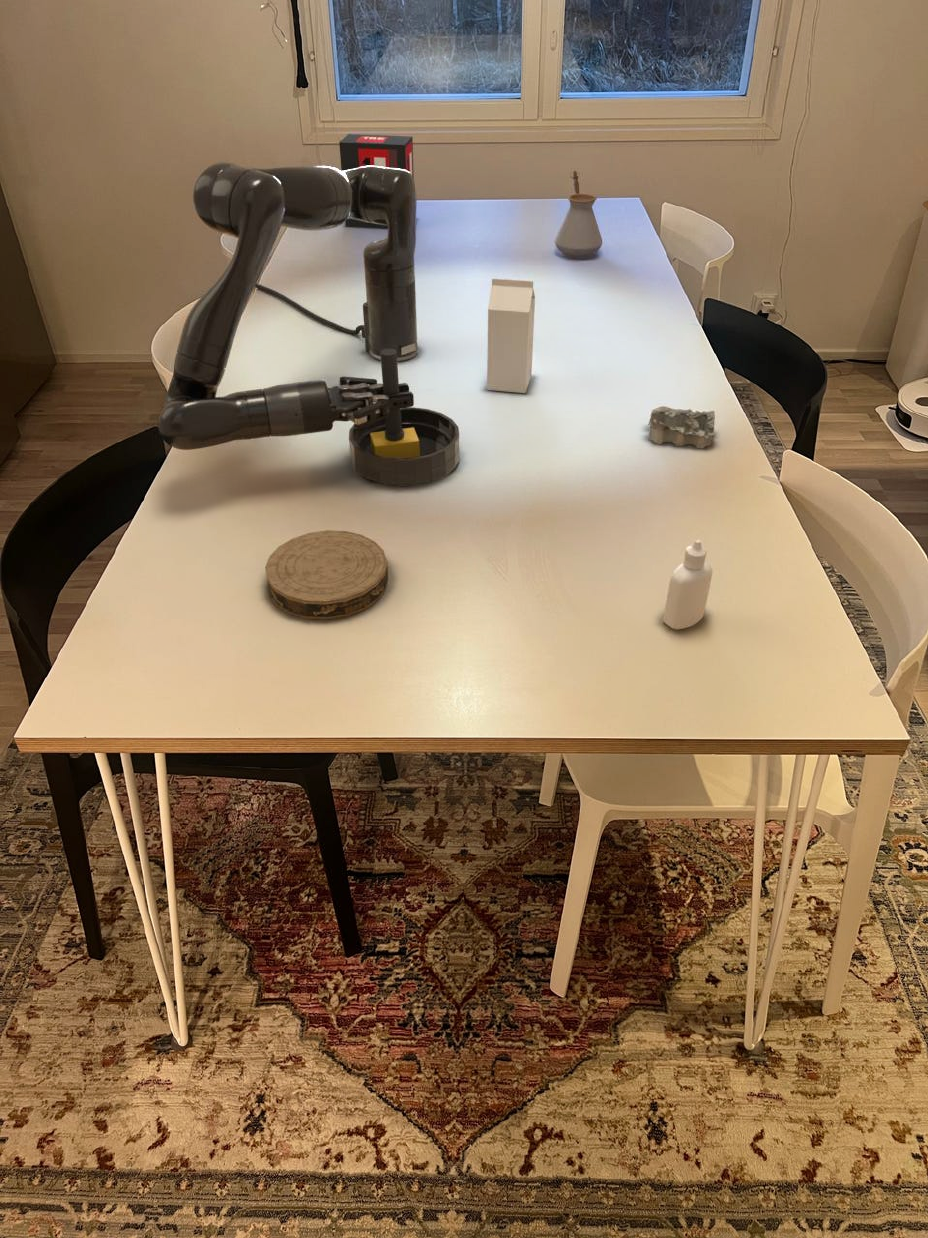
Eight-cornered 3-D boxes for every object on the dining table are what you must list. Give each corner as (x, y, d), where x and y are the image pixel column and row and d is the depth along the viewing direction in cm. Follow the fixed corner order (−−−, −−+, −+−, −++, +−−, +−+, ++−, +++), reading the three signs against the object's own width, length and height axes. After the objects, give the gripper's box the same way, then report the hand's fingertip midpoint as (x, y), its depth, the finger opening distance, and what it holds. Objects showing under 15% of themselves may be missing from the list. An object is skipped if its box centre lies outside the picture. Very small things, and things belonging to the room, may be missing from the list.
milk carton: (525, 394, 169) (530, 288, 157) (486, 390, 170) (488, 285, 158) (531, 377, 174) (536, 274, 162) (493, 374, 176) (495, 271, 164)
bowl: (329, 469, 149) (326, 440, 146) (393, 425, 160) (391, 398, 157) (419, 500, 142) (418, 471, 138) (479, 452, 153) (479, 424, 150)
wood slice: (286, 632, 118) (283, 613, 116) (255, 564, 129) (252, 546, 127) (405, 601, 122) (404, 582, 121) (365, 537, 134) (364, 520, 132)
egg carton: (644, 443, 155) (647, 420, 152) (650, 422, 161) (652, 400, 158) (710, 451, 153) (715, 428, 150) (713, 429, 158) (717, 407, 156)
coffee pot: (604, 261, 224) (610, 194, 214) (556, 261, 223) (560, 194, 214) (593, 232, 240) (598, 169, 231) (548, 233, 240) (551, 169, 230)
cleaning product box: (415, 219, 249) (412, 136, 236) (407, 229, 242) (404, 144, 230) (354, 216, 251) (348, 133, 239) (345, 226, 244) (339, 142, 232)
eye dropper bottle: (657, 609, 121) (669, 532, 113) (699, 607, 121) (715, 529, 114) (666, 631, 118) (680, 553, 110) (709, 628, 118) (726, 550, 110)
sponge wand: (376, 469, 147) (367, 360, 136) (372, 454, 151) (362, 348, 139) (420, 463, 149) (414, 355, 137) (415, 449, 152) (409, 342, 140)
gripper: (301, 406, 132) (420, 391, 136) (288, 365, 143) (399, 352, 146) (307, 453, 137) (422, 437, 141) (294, 410, 147) (401, 397, 151)
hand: (410, 394), depth 143 cm, fingers closed on sponge wand, 2 cm apart
